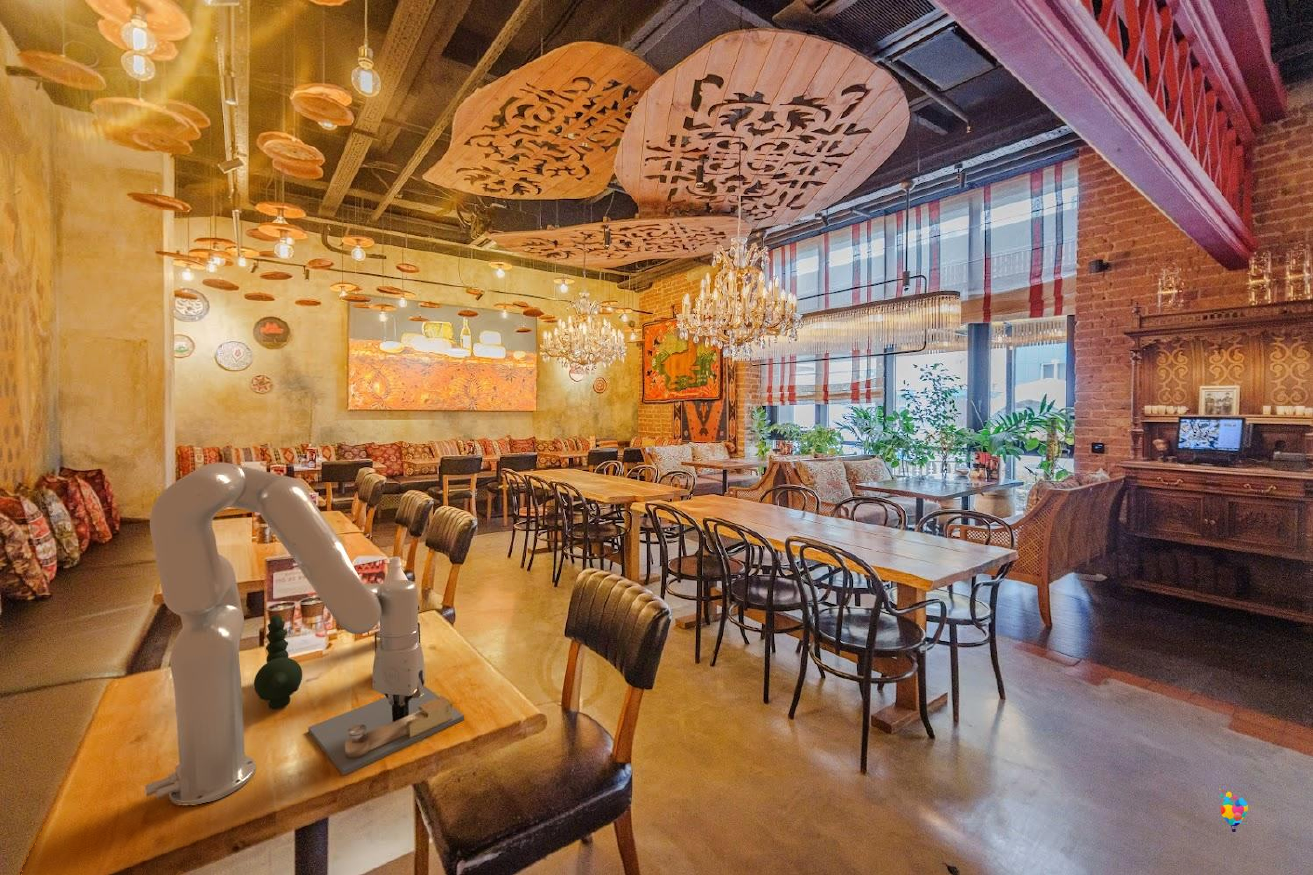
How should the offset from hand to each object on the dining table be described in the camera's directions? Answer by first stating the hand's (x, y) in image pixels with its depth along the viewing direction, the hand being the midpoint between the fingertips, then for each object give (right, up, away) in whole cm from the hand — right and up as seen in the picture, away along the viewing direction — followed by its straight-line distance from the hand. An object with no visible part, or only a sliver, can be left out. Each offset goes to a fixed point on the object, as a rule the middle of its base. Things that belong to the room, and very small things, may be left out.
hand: (400, 719), depth 120 cm
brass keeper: (+6, -1, 0) cm, 6 cm away
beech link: (0, -1, -4) cm, 4 cm away
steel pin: (-4, +1, -9) cm, 10 cm away
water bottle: (-22, +1, +46) cm, 51 cm away
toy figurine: (-36, -1, +14) cm, 39 cm away
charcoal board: (-4, -2, +1) cm, 4 cm away
